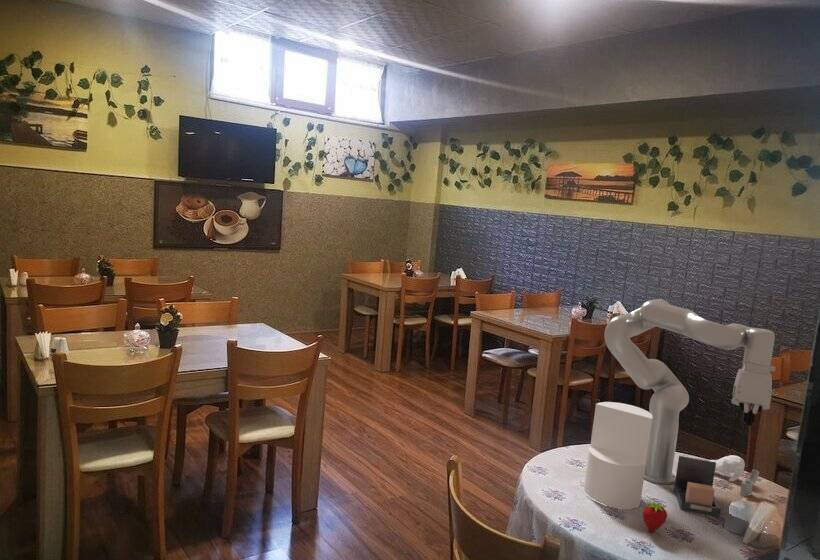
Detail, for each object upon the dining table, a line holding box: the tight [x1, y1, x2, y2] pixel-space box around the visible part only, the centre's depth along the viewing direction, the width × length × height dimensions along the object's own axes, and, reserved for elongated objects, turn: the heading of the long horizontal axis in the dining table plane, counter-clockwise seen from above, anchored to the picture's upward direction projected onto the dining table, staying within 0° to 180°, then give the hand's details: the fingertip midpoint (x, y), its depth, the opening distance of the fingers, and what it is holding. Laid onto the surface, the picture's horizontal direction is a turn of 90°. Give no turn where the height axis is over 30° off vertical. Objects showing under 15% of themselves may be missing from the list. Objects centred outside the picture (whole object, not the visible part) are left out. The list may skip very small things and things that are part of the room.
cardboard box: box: [685, 482, 715, 506], centre depth 190 cm, size 7×4×6 cm, turn 77°
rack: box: [673, 455, 722, 518], centre depth 193 cm, size 11×14×12 cm
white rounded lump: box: [708, 454, 746, 482], centre depth 216 cm, size 6×8×12 cm
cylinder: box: [583, 401, 653, 510], centre depth 192 cm, size 17×17×28 cm
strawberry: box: [641, 499, 668, 533], centre depth 172 cm, size 6×8×10 cm
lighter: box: [739, 469, 760, 497], centre depth 204 cm, size 7×2×8 cm, turn 122°
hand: (747, 424), depth 193 cm, fingers closed
